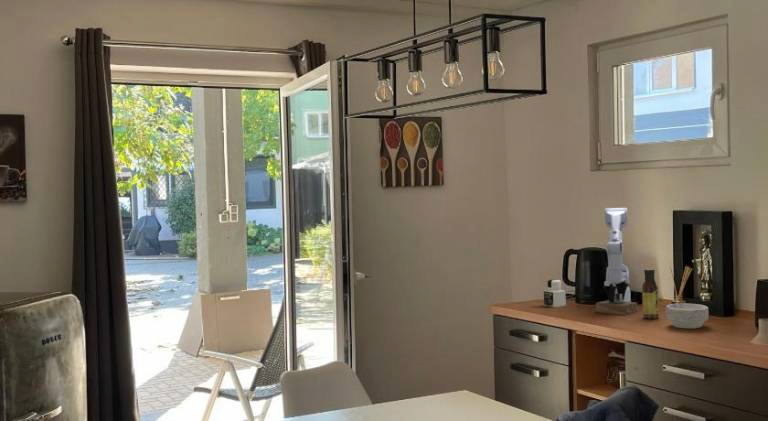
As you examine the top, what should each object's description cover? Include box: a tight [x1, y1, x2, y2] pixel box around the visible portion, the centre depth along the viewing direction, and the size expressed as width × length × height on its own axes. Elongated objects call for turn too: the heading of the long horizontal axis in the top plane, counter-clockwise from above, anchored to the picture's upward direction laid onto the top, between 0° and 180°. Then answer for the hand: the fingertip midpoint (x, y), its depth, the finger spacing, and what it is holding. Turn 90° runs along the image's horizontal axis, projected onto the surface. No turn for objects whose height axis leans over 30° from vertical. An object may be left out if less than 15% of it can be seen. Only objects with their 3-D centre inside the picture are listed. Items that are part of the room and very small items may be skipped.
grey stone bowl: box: [665, 303, 709, 330], centre depth 318 cm, size 15×15×8 cm
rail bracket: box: [610, 293, 622, 304], centre depth 358 cm, size 2×5×8 cm, turn 43°
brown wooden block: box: [595, 299, 638, 316], centre depth 358 cm, size 10×14×4 cm
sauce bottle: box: [641, 268, 660, 319], centre depth 340 cm, size 6×6×20 cm
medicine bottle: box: [543, 278, 567, 308], centre depth 381 cm, size 7×7×12 cm
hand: (616, 300), depth 357 cm, fingers open, 7 cm apart
